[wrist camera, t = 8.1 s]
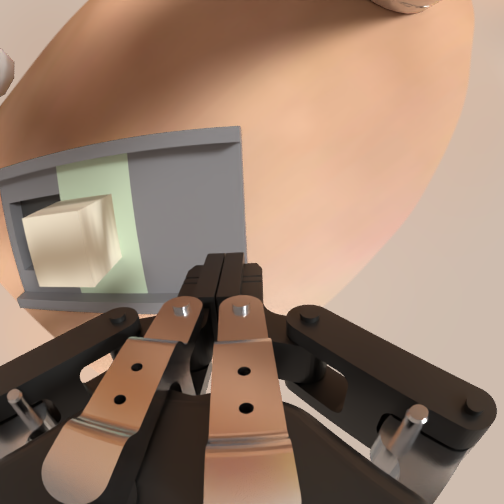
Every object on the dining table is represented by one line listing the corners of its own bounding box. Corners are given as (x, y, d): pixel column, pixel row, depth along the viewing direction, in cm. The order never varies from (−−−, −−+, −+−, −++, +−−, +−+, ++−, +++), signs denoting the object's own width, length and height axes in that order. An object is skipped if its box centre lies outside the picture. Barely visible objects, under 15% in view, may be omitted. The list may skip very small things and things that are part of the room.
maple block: (59, 201, 20) (21, 218, 16) (111, 193, 20) (77, 210, 16) (71, 259, 22) (39, 286, 17) (121, 257, 22) (94, 287, 17)
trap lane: (10, 166, 21) (-14, 173, 18) (240, 127, 21) (239, 125, 17) (37, 291, 26) (20, 307, 22) (248, 290, 25) (248, 312, 22)
